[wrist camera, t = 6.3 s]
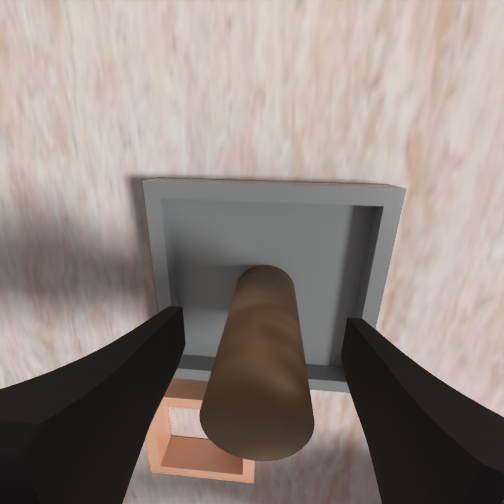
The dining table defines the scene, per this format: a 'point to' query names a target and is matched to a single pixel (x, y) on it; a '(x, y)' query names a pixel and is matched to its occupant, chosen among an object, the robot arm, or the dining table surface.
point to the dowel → (260, 373)
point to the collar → (190, 442)
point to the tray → (271, 258)
